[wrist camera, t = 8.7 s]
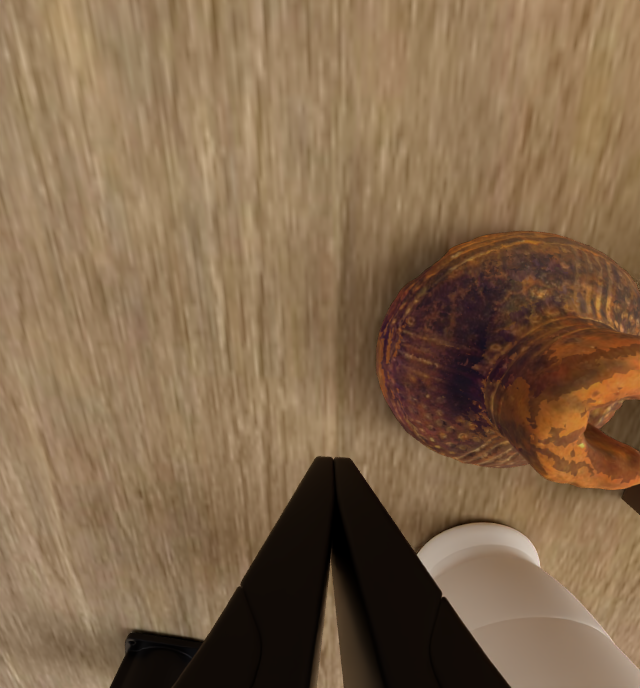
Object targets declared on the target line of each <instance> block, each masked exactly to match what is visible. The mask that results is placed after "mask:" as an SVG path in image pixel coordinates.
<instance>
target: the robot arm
mask: <svg viewBox="0 0 640 688" xmlns="http://www.w3.org/2000/svg"><path fill="white" fill-rule="evenodd" d="M330 559H331V565H332V577H333V586H334V596H335V606H336V615H337V625H338V635H339V645H340V654H341V664H342V674H343V684H344V688H511V686H510V685H509V684H508V683H507V681H506V680H505V679H504V677H503V676H502V675H501V674H500V672H499V671H498V670H497V668H496V667H495V666H494V665H493V663H492V662H491V661H490V659H489V658H488V657H487V655H486V654H485V652H484V651H483V650H482V648H481V647H480V645H479V644H478V643H477V641H476V640H475V638H474V637H473V636H472V634H471V633H470V631H469V630H468V629H467V627H466V626H465V624H464V623H463V622H462V620H461V619H460V617H459V616H458V614H457V613H456V611H455V610H454V608H453V607H452V605H451V604H450V603H449V601H448V600H447V598H446V597H442V591H441V590H440V588H439V587H438V585H437V584H436V582H435V581H434V579H433V578H432V577H431V575H430V574H429V572H428V571H427V569H426V568H425V566H424V565H423V563H422V562H421V560H420V559H419V558H418V556H417V555H416V553H415V552H414V550H413V549H412V547H411V546H410V544H409V543H408V541H407V540H406V539H405V537H404V536H403V534H402V533H401V531H400V530H399V528H398V527H397V525H396V524H395V522H394V521H393V520H392V518H391V517H390V515H389V514H388V512H387V511H386V509H385V508H384V506H383V505H382V503H381V502H380V501H379V499H378V498H377V496H376V495H375V493H374V492H373V490H372V489H371V487H370V486H369V484H368V483H367V482H366V480H365V479H364V477H363V476H362V474H361V473H360V471H359V470H358V468H357V467H356V465H355V464H354V463H353V461H352V460H351V459H350V458H343V457H335V458H334V460H333V458H332V457H322V456H318V457H316V458H315V459H314V461H313V463H312V464H311V466H310V468H309V469H308V471H307V473H306V474H305V476H304V478H303V479H302V481H301V483H300V484H299V486H298V488H297V489H296V491H295V493H294V495H293V496H292V498H291V500H290V501H289V503H288V505H287V506H286V508H285V510H284V511H283V513H282V515H281V516H280V518H279V520H278V521H277V523H276V525H275V526H274V528H273V530H272V531H271V533H270V535H269V536H268V538H267V540H266V541H265V543H264V545H263V546H262V548H261V550H260V551H259V553H258V555H257V556H256V558H255V560H254V561H253V563H252V565H251V566H250V568H249V570H248V571H247V573H246V575H245V576H244V578H243V580H242V581H241V587H240V586H239V587H238V588H237V589H236V591H235V592H234V594H233V596H232V597H231V599H230V601H229V602H228V604H227V606H226V608H225V609H224V611H223V612H222V614H221V615H220V617H219V619H218V620H217V622H216V623H215V625H214V626H213V628H212V630H211V631H210V633H209V634H208V636H207V637H206V639H205V641H204V642H203V643H199V642H193V641H186V640H180V639H173V638H167V637H160V636H154V635H147V634H141V633H133V632H132V633H130V634H129V635H128V637H127V639H126V641H125V657H124V659H123V661H122V663H121V665H120V667H119V669H118V671H117V673H116V676H115V678H114V680H113V682H112V684H111V686H110V688H316V687H317V678H318V669H319V660H320V651H321V642H322V634H323V625H324V616H325V607H326V598H327V589H328V580H329V570H330Z"/></svg>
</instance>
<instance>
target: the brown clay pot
mask: <svg viewBox="0 0 640 688" xmlns="http://www.w3.org/2000/svg"><path fill="white" fill-rule="evenodd" d="M503 359H504V360H503ZM376 371H377V376H378V379H379V382H380V388H381V390H382V393H383V395H384V398H385V400H386V402H387V404H388V405H389V407H390V409H391V410H392V412H393V414H394V416H395V417H396V419H397V420H398V421H399V422H400V424H401V425H402V426H403V428H404V429H405V430H406V431H407V432H408V433H409V434H410V435H412V436H413V437H414V438H416V439H417V440H418V441H420V442H421V443H422V444H423V445H425V446H426V447H428V448H429V449H431V450H433V451H435V452H437V453H439V454H441V455H444V456H447V457H451V458H454V459H456V460H457V461H460V462H462V463H468V464H474V465H479V466H485V467H493V468H508V467H516V466H522V465H527V464H530V465H531V466H532V467H533V468H534V469H535V470H536V471H537V472H538V473H539V474H540V475H542V476H543V477H544V478H545V479H547V480H550V481H553V482H557V483H568V484H572V485H575V486H577V487H581V488H601V489H606V490H617V489H624V488H629V487H631V486H634V485H637V484H640V452H638V451H637V450H636V449H634V448H632V447H630V446H629V445H626V444H624V443H621V442H619V441H616V440H615V439H613V438H611V437H609V436H607V435H606V434H604V433H603V432H602V431H601V430H599V429H600V428H601V427H602V426H603V425H604V424H605V423H607V422H608V421H609V420H610V419H611V418H612V417H613V415H614V413H615V411H616V410H617V409H619V408H620V407H621V406H622V403H623V401H624V400H631V399H637V400H640V293H639V290H638V288H637V285H636V283H635V282H634V281H633V279H632V277H631V276H630V274H629V273H628V272H627V271H626V270H624V269H622V268H621V267H620V266H618V265H617V263H616V262H614V261H613V260H612V259H611V258H609V257H608V256H606V255H605V254H603V253H602V252H600V251H598V250H596V249H594V248H592V247H590V246H589V245H586V244H583V243H580V242H576V241H574V240H572V239H569V238H567V237H563V236H560V235H556V234H551V233H544V232H533V231H514V232H507V233H497V234H490V235H485V236H481V237H478V238H475V239H473V240H472V241H470V242H465V243H462V244H459V245H457V246H455V247H453V248H451V249H450V250H449V251H448V252H447V253H446V255H445V256H444V257H442V258H441V259H440V260H439V261H438V262H436V263H435V264H434V265H433V266H431V267H429V268H428V269H426V270H425V271H424V272H423V273H422V274H421V275H420V276H419V277H417V278H415V279H414V280H412V281H410V282H409V283H408V284H406V285H405V286H404V287H403V288H402V289H401V290H400V292H399V293H398V295H397V297H396V299H395V300H394V301H393V303H392V304H391V306H390V308H389V309H388V311H387V314H386V316H385V318H384V321H383V323H382V326H381V329H380V333H379V336H378V341H377V346H376Z"/></svg>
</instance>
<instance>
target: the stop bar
mask: <svg viewBox="0 0 640 688" xmlns="http://www.w3.org/2000/svg"><path fill="white" fill-rule="evenodd" d="M622 499H623V500H624V501H625V502H626V503H627V504H628V505H629V506H630V507H632V508H633V509H634V510H635V511H636V512H637V513H638V514H639V515H640V484H637V485H634V486H631V487H629V488H626V490H625V492H624V494H623V496H622Z"/></svg>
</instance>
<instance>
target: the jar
mask: <svg viewBox="0 0 640 688" xmlns="http://www.w3.org/2000/svg"><path fill="white" fill-rule="evenodd" d="M417 556H418V558H419V559H420V560H421V562H422V563H423V565H424V566H425V568H426V569H427V571H428V572H429V574H430V575H431V577H432V578H433V579H434V581H435V582H436V584H437V585H438V587H439V588H440V590H441V591H442V597H446V598H447V600H448V601H449V603H450V604H451V605H452V607H453V608H454V610H455V611H456V613H457V614H458V616H459V617H460V619H461V620H462V622H463V623H464V624H465V626H466V627H467V629H468V630H469V631H470V633H471V634H472V636H473V637H474V638H475V640H476V641H477V643H478V644H479V645H480V647H481V648H482V650H483V651H484V652H485V654H486V655H487V657H488V658H489V659H490V661H491V662H492V663H493V665H494V666H495V667H496V668H497V670H498V671H499V672H500V674H501V675H502V676H503V677H504V679H505V680H506V681H507V683H508V684H509V685H510V686H511V688H640V670H639V669H638V668H637V667H636V665H635V664H634V663H633V662H632V661H631V660H630V659H629V658H628V657H627V656H626V655H625V654H624V653H623V652H622V651H621V650H620V649H619V647H618V646H617V645H616V644H615V643H614V642H613V640H612V639H611V638H610V636H609V635H608V634H607V632H606V631H605V630H604V629H603V627H602V626H601V625H600V624H599V623H598V621H597V620H596V619H595V618H594V617H593V616H592V615H591V613H590V612H589V611H588V610H587V609H586V608H585V607H584V606H583V605H582V604H581V603H580V601H579V600H578V599H577V598H576V597H575V596H574V595H573V594H572V593H571V592H569V591H568V590H567V589H566V588H565V587H564V586H563V585H562V584H561V583H559V582H558V581H557V580H556V579H555V578H553V577H552V576H551V575H550V574H548V573H547V572H546V571H544V570H543V569H542V568H540V562H539V557H538V554H537V551H536V549H535V547H534V545H533V544H532V543H531V541H530V540H529V539H528V538H527V537H526V536H525V535H523V534H522V533H520V532H519V531H517V530H515V529H513V528H511V527H508V526H505V525H501V524H496V523H485V522H480V523H469V524H464V525H460V526H456V527H453V528H451V529H448V530H446V531H444V532H442V533H440V534H438V535H436V536H435V537H433V538H432V539H431V540H430V541H428V542H427V543H426V544H425V545H424V546H423V547H422V548H421V550H420V551H419V552H418V554H417Z"/></svg>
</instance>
